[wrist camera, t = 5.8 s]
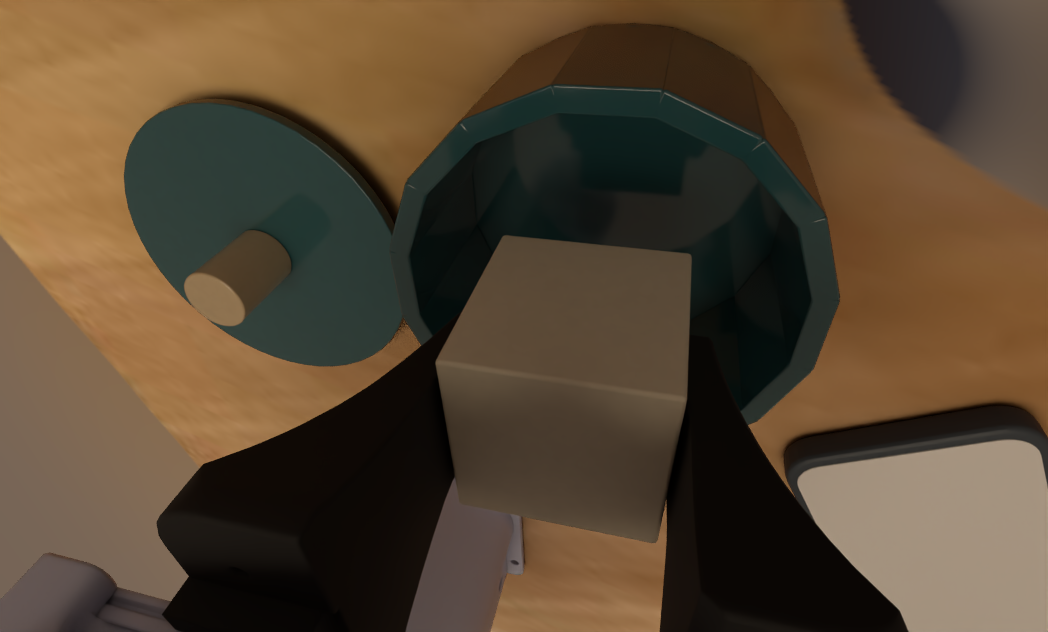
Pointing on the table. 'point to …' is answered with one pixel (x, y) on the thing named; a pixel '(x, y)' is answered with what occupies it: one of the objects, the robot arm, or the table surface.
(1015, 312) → the table surface
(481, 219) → the canister
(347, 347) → the lid
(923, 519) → the phone case
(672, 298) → the block
